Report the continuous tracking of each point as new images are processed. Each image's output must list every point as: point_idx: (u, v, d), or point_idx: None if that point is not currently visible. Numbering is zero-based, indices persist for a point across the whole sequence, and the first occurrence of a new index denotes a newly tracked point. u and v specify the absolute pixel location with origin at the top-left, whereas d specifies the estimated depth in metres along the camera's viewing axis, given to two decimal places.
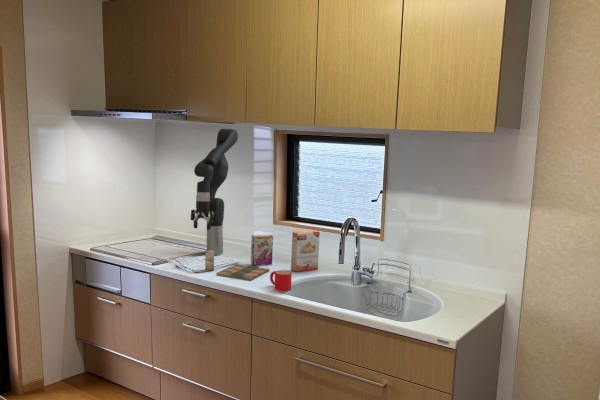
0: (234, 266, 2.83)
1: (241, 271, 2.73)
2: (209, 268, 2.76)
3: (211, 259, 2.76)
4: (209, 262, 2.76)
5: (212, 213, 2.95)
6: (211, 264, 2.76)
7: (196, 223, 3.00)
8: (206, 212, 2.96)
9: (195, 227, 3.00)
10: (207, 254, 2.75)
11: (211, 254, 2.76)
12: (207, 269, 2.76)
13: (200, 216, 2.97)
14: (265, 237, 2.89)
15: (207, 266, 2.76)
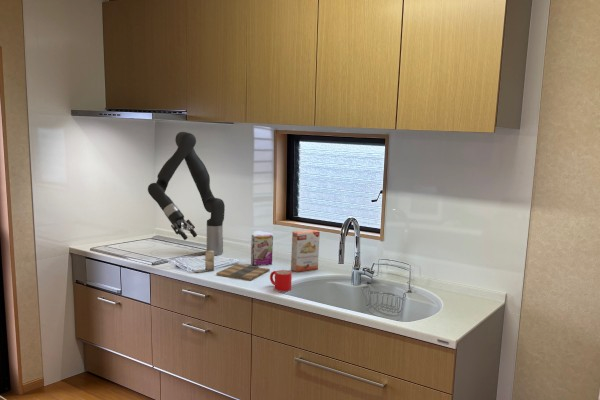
0: (234, 266, 2.83)
1: (241, 271, 2.73)
2: (209, 268, 2.76)
3: (211, 259, 2.76)
4: (209, 262, 2.76)
5: (172, 226, 2.76)
6: (211, 264, 2.76)
7: (192, 232, 2.85)
8: None
9: (193, 236, 2.85)
10: (207, 254, 2.75)
11: (211, 254, 2.76)
12: (207, 269, 2.76)
13: None
14: (265, 237, 2.89)
15: (207, 266, 2.76)
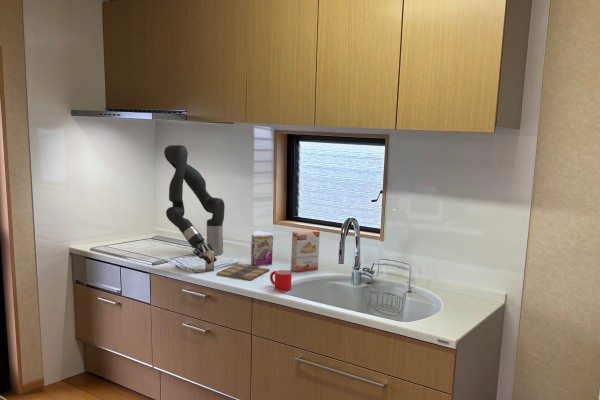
0: (234, 266, 2.83)
1: (241, 271, 2.73)
2: (209, 268, 2.76)
3: (211, 259, 2.76)
4: None
5: (195, 251, 2.73)
6: (211, 264, 2.76)
7: None
8: None
9: None
10: (207, 254, 2.75)
11: (211, 254, 2.76)
12: (207, 269, 2.76)
13: None
14: (265, 237, 2.89)
15: (207, 266, 2.76)
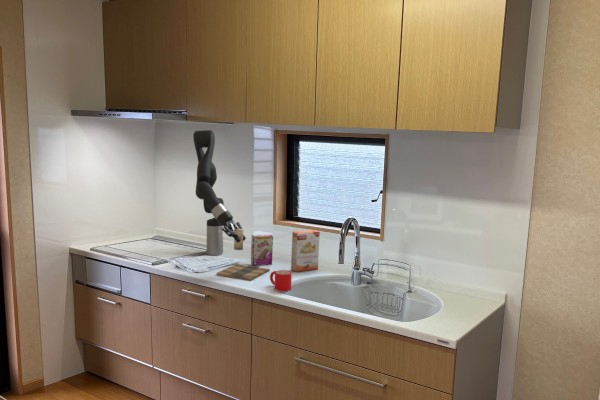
0: (234, 266, 2.83)
1: (241, 271, 2.73)
2: (238, 247, 2.67)
3: (240, 237, 2.66)
4: None
5: (224, 229, 2.64)
6: (240, 242, 2.67)
7: None
8: None
9: None
10: (236, 232, 2.66)
11: (240, 232, 2.66)
12: (236, 248, 2.67)
13: None
14: (265, 237, 2.89)
15: (236, 244, 2.67)
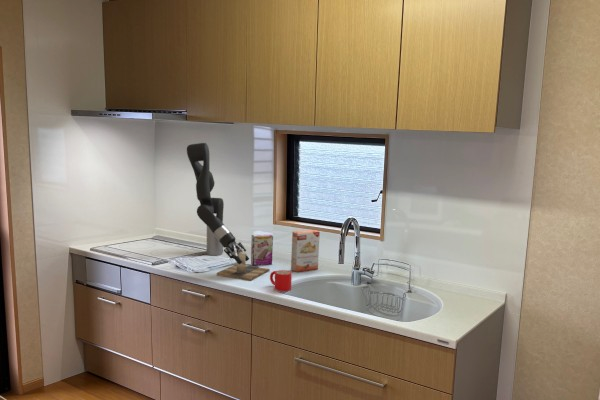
0: (234, 266, 2.83)
1: None
2: (241, 270, 2.69)
3: (243, 261, 2.68)
4: (241, 264, 2.68)
5: (225, 250, 2.65)
6: (243, 266, 2.69)
7: None
8: None
9: (245, 260, 2.73)
10: (239, 256, 2.68)
11: (243, 256, 2.68)
12: (239, 271, 2.69)
13: None
14: (265, 237, 2.89)
15: (239, 268, 2.69)
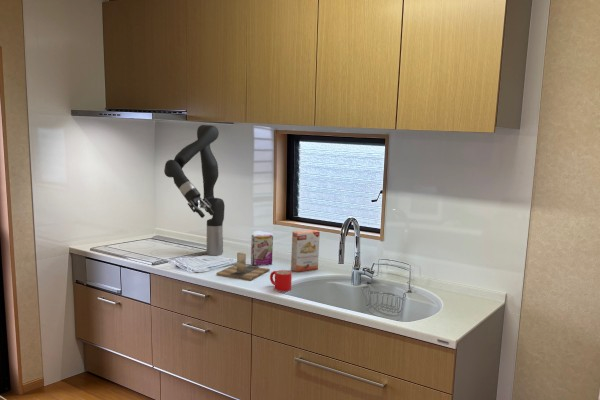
0: (234, 266, 2.83)
1: None
2: (241, 270, 2.69)
3: (243, 261, 2.68)
4: (241, 264, 2.68)
5: (189, 204, 2.72)
6: (243, 266, 2.69)
7: (209, 210, 2.80)
8: None
9: (210, 214, 2.80)
10: (239, 256, 2.68)
11: (243, 256, 2.68)
12: (239, 271, 2.69)
13: None
14: (265, 237, 2.89)
15: (239, 268, 2.69)
